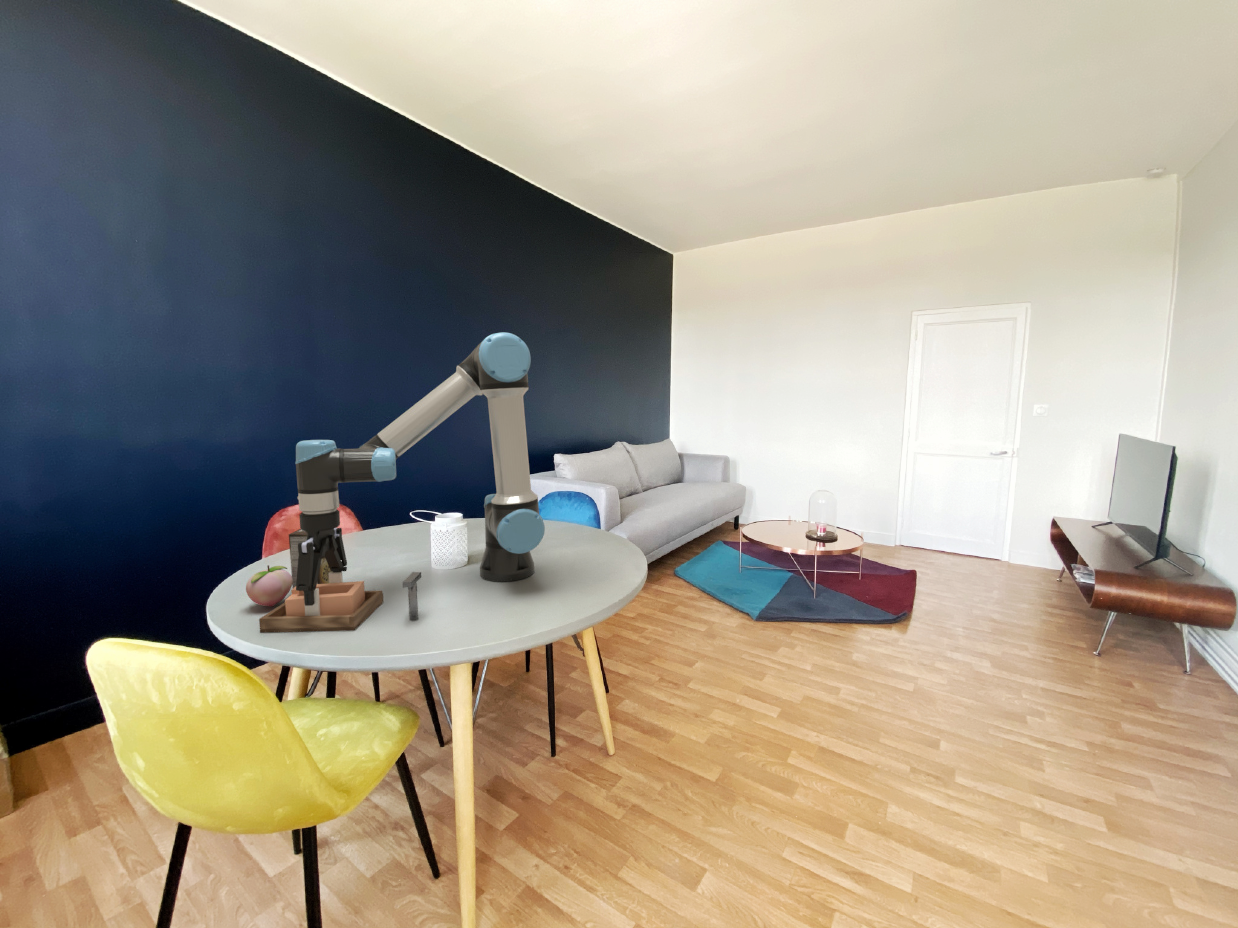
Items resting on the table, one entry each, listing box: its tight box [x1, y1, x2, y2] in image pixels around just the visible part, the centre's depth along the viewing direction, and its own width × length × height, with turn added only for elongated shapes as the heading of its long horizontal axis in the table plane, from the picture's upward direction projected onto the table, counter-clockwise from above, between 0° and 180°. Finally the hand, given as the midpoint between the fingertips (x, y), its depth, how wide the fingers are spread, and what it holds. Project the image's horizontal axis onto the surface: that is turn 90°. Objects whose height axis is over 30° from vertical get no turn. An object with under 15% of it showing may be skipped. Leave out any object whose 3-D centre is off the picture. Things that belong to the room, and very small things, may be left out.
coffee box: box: [288, 528, 331, 589], centre depth 125 cm, size 9×6×16 cm
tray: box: [258, 590, 384, 634], centre depth 110 cm, size 19×15×3 cm
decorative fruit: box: [245, 564, 293, 607], centre depth 115 cm, size 9×8×10 cm
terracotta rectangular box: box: [284, 580, 366, 616], centre depth 110 cm, size 13×9×6 cm
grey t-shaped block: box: [402, 571, 422, 622], centre depth 109 cm, size 2×6×10 cm, turn 4°
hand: (325, 608), depth 110 cm, fingers closed on terracotta rectangular box, 9 cm apart
